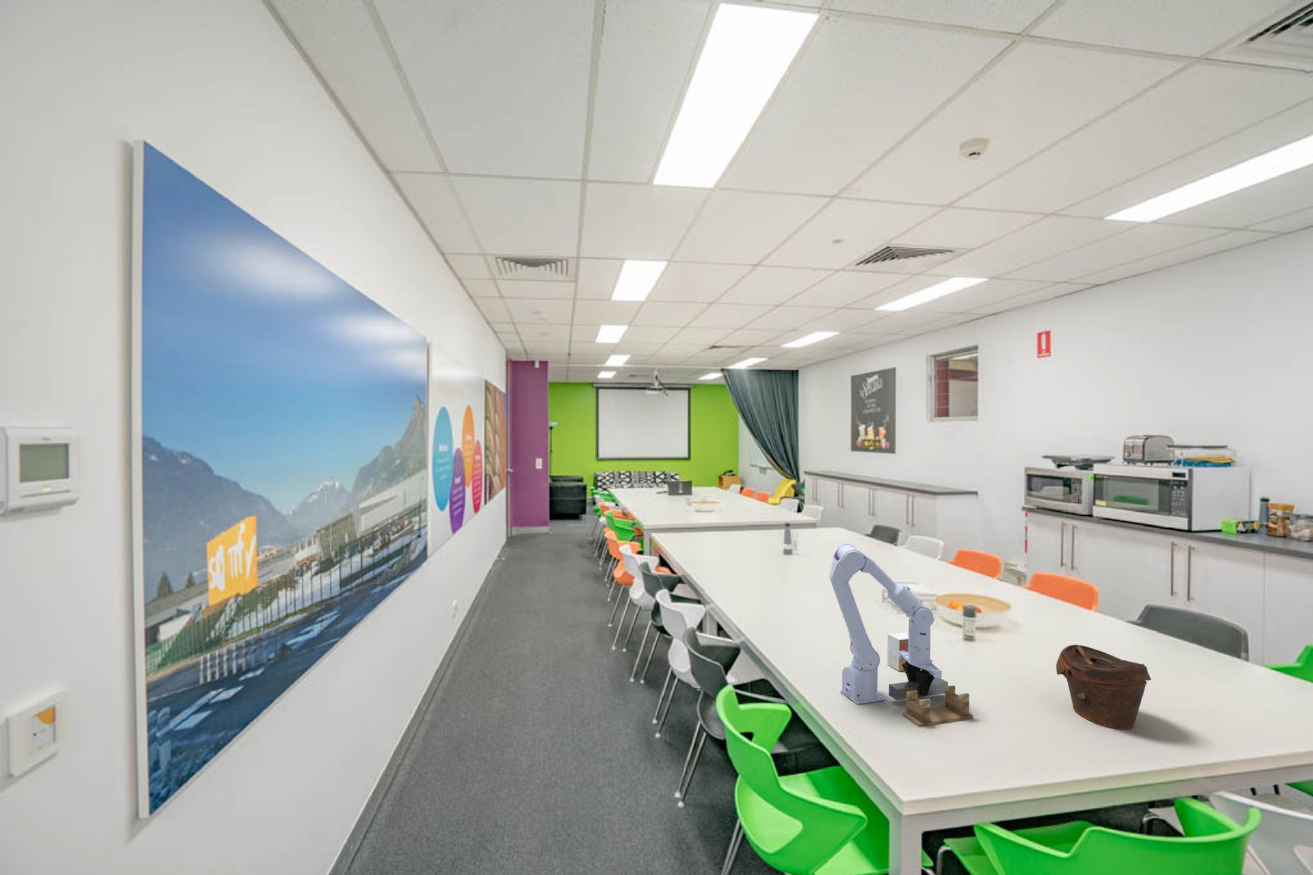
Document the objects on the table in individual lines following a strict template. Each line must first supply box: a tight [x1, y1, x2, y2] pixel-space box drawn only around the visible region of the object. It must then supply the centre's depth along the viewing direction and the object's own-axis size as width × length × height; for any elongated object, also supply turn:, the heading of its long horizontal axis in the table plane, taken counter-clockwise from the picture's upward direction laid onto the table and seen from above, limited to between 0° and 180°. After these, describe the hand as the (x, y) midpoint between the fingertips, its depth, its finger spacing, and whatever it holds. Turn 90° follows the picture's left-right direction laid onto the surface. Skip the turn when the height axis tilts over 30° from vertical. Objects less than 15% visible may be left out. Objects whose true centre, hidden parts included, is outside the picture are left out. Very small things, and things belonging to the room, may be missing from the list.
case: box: [1055, 644, 1152, 730], centre depth 144 cm, size 18×20×18 cm
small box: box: [886, 631, 909, 672], centre depth 174 cm, size 8×6×10 cm
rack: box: [901, 684, 974, 728], centre depth 142 cm, size 18×6×6 cm, turn 106°
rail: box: [888, 677, 949, 702], centre depth 151 cm, size 18×3×3 cm, turn 106°
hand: (918, 692), depth 151 cm, fingers closed on rail, 3 cm apart
